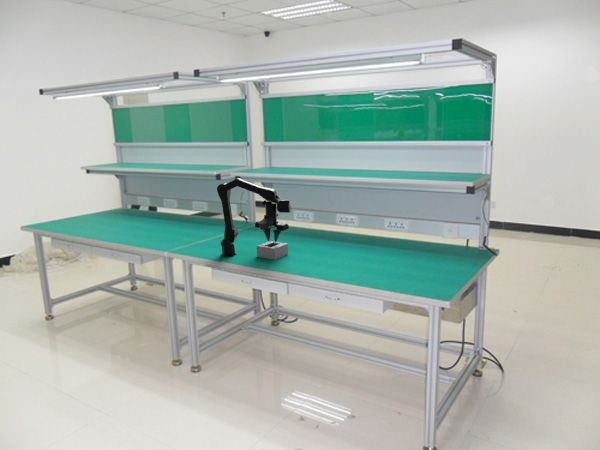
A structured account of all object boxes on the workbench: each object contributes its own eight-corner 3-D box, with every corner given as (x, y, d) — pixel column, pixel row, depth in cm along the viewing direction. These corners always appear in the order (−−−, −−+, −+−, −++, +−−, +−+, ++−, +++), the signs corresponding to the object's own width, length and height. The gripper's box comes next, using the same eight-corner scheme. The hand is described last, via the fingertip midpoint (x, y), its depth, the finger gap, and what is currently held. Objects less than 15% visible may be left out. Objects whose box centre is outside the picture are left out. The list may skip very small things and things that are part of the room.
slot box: (257, 256, 248) (256, 245, 247) (270, 251, 258) (270, 240, 257) (275, 259, 242) (274, 248, 241) (288, 254, 252) (287, 243, 250)
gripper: (247, 213, 244) (249, 242, 247) (276, 217, 233) (277, 246, 237) (260, 210, 253) (261, 237, 256) (288, 213, 243) (289, 242, 246)
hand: (272, 241), depth 248 cm, fingers open, 4 cm apart
